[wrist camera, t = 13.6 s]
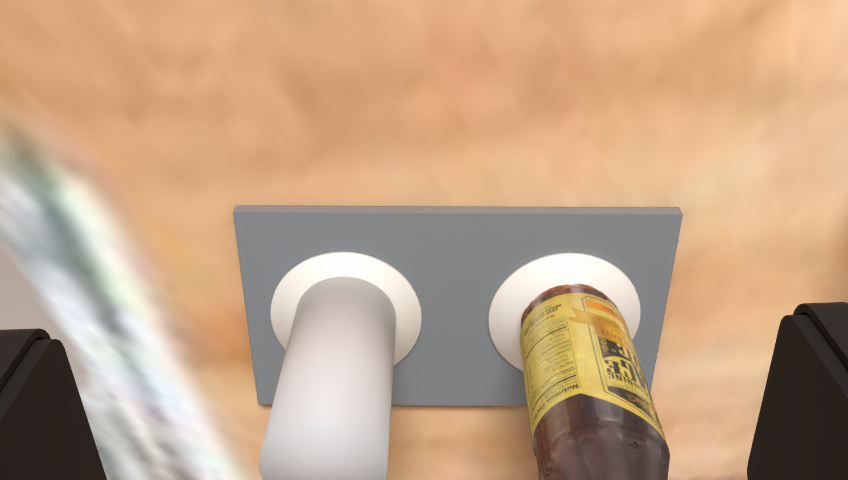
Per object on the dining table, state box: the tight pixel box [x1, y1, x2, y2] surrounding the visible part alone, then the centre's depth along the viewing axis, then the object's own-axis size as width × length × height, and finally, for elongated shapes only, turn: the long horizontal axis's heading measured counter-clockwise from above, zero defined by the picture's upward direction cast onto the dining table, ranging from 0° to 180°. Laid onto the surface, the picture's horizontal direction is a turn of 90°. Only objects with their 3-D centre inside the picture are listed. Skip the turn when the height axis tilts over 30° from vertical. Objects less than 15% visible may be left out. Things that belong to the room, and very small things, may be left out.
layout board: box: [233, 206, 683, 480], centre depth 44 cm, size 25×14×13 cm, turn 90°
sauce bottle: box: [520, 284, 670, 480], centre depth 40 cm, size 6×6×20 cm
